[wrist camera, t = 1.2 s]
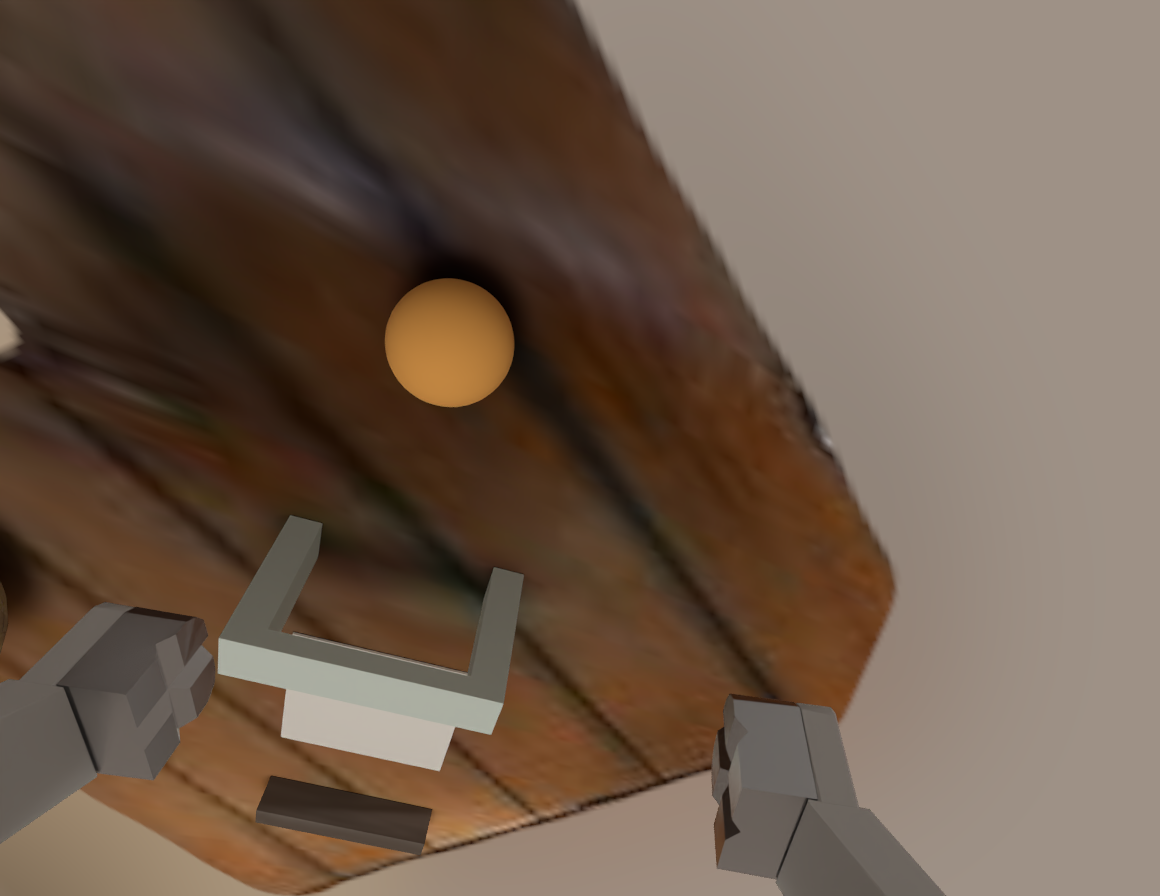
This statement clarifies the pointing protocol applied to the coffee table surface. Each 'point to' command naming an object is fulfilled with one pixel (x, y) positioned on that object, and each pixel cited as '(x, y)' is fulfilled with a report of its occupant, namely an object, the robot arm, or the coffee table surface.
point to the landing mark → (366, 725)
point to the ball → (449, 342)
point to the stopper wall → (343, 815)
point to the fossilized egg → (3, 615)
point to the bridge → (358, 675)
